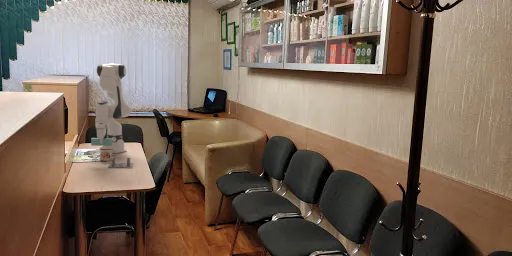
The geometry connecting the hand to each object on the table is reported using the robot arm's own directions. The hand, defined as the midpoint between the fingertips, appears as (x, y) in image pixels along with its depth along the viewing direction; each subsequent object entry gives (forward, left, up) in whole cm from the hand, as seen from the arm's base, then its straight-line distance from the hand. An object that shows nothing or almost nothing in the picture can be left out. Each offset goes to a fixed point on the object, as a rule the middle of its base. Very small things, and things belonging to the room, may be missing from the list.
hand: (101, 142), depth 297 cm
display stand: (+9, +14, -15) cm, 23 cm away
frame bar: (0, 0, -2) cm, 2 cm away
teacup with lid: (-12, +3, -15) cm, 19 cm away
